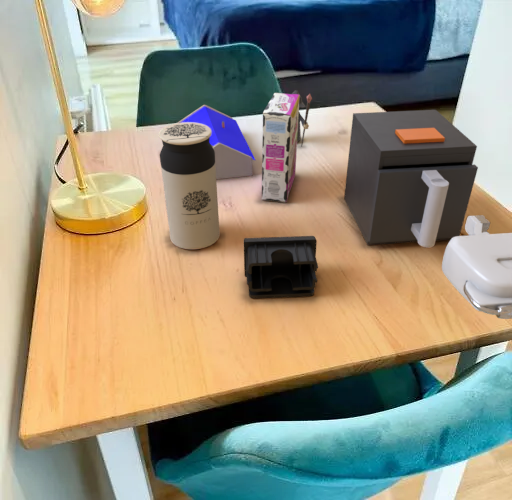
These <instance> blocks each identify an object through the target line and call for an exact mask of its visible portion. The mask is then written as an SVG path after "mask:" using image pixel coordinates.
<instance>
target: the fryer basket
mask: <svg viewBox="0 0 512 500" xmlns="http://www.w3.org/2000/svg"><path fill="white" fill-rule="evenodd" d="M478 170H479V167H478V166H477V165H476V164H472V165H458V166H439V167H436V166H435V165H434V164H417V165H399V166H383V167H382V170H378V172H377V179H376V186H375V193H374V200H373V207H372V214H371V221H370V227H369V234H368V241H369V243H380V242H395V241H411V240H418V242H417V244H418V245H419V246H421V247H423V248H427V249H428V248H433V247H434V246H435V244H436V242H437V241H436V239H441V238H453V237H455V236H461V232H462V229H463V225H464V222H465V218H466V214H467V211H468V206H469V202H470V198H471V196H472V191H473V187H474V185H475V180H476V177H477V172H478Z"/></svg>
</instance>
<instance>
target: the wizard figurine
mask: <svg viewBox="0 0 512 500" xmlns="http://www.w3.org/2000/svg"><path fill="white" fill-rule="evenodd" d="M291 94H298V95H300V99H299V109H300V108H301V109H305V115H304V117H303V116H302V114H301V111H299V117H298V133H297V143H298V142H300V141H301V145H300V147H303V143H304V140H305V139H304V137H305V132H306V130H308V129H309V127H310V125H309V123H308V117H309V111H310V106H311V102H312V100H313V97H312V94H311V93H309V94H308V95H306V104H305V103H304V102H303V97H302V96H301V94H300V93H299V90H297V89H296V90H293V92H292V93H291ZM301 125H302V128H303V131H302V133H301Z"/></svg>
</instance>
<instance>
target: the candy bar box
mask: <svg viewBox="0 0 512 500" xmlns="http://www.w3.org/2000/svg"><path fill="white" fill-rule="evenodd" d="M300 96H301V94H300V95H298V94H292V93H287V92H286V93H283V92H274V93H273V95H272V97H271V98H270V100H269V102H268V103H267V105H266V107H265V108H264V110H263V112H262V146H261V147H262V149H261V150H262V152H261V153H262V154H261V156H262V158H261V200H262V201H266V202H267V201H268V202H275V203H287V202H288V200H289V196H290V192H291V189H292V186H293V183H294V180H295V178H296V171H297V170H296V169H297V168H296V167H297V166H296V164H297V149H298V148H297V147H298V142H297V133H298V117H299V112H300V108H299V99H300Z"/></svg>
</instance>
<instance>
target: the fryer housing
mask: <svg viewBox="0 0 512 500" xmlns="http://www.w3.org/2000/svg"><path fill="white" fill-rule="evenodd" d="M349 141H350V142H349V148H348V149H349V150H348V160H347V167H346V178H345V187H344V196H343V199H344V202H345V204H346V205H347V208H348V209H349V212H350V213H351V216H352V218H353V219H354V222H355V223H356V225H357V227H358V230H359V231H360V234H361V236H362V237H363V239H364V242H365V243H366V245H367V246H379V245H391V244H407V243H408V244H409V243H410V244H411V243H418V240H411V241H395V242H380V243H369V241H368V234H369V227H370V221H371V214H372V207H373V200H374V193H375V186H376V179H377V172H378V170H382V167H383V166H399V165H417V164H434V165H435V166H436V167H439V166H458V165H474V164H473V163H474V160H475V156H476V151H477V148H478V146H477V145H476V144H475V143H474V142H473V141H472V140H471V139H470V138H468V136H466V134H464V133H463V132H461V130H460V129H458V128H457V127H456V126H455V125H454V124H453V123H452V122H450V120H448V119H447V118H446V117H445V116H444V115H442V114H441V112H439V111H438V110H437V109H423V110H422V109H419V110H418V109H417V110H397V111H377V112H374V111H373V112H355V113H352V120H351V129H350V140H349ZM451 239H452V238H441V239H436V241H435V242H439V241H450V240H451Z"/></svg>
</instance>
